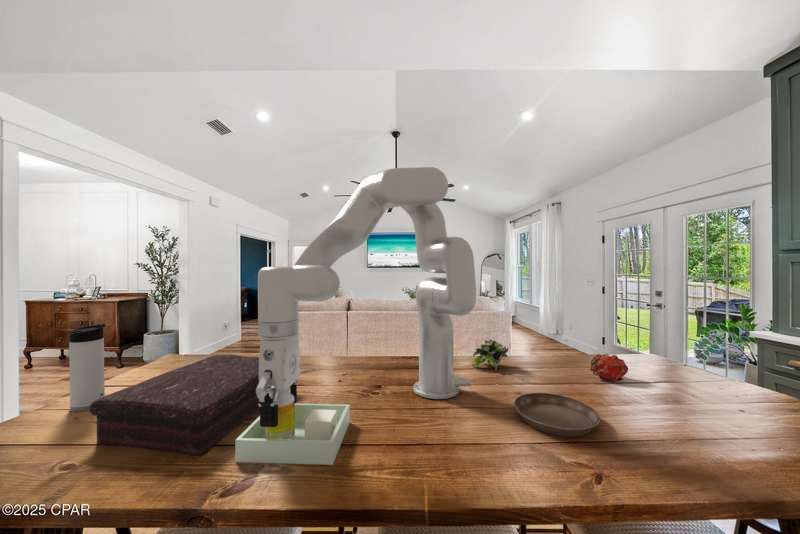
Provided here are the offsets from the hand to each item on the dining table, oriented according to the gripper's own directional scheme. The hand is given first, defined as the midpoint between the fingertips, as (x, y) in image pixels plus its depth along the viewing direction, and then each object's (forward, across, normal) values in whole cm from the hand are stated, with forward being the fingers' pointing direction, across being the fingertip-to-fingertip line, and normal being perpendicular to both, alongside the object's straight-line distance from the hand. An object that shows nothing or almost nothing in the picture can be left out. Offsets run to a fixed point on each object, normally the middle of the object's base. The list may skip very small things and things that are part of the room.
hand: (279, 413), depth 66 cm
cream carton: (+5, 0, -8) cm, 10 cm away
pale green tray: (+6, 0, -4) cm, 7 cm away
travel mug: (+6, +14, +54) cm, 56 cm away
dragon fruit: (+6, +40, -87) cm, 96 cm away
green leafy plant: (+6, +49, -53) cm, 72 cm away
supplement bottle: (+5, 0, 0) cm, 5 cm away
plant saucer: (+6, +12, -59) cm, 60 cm away
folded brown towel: (+6, +12, +22) cm, 26 cm away
